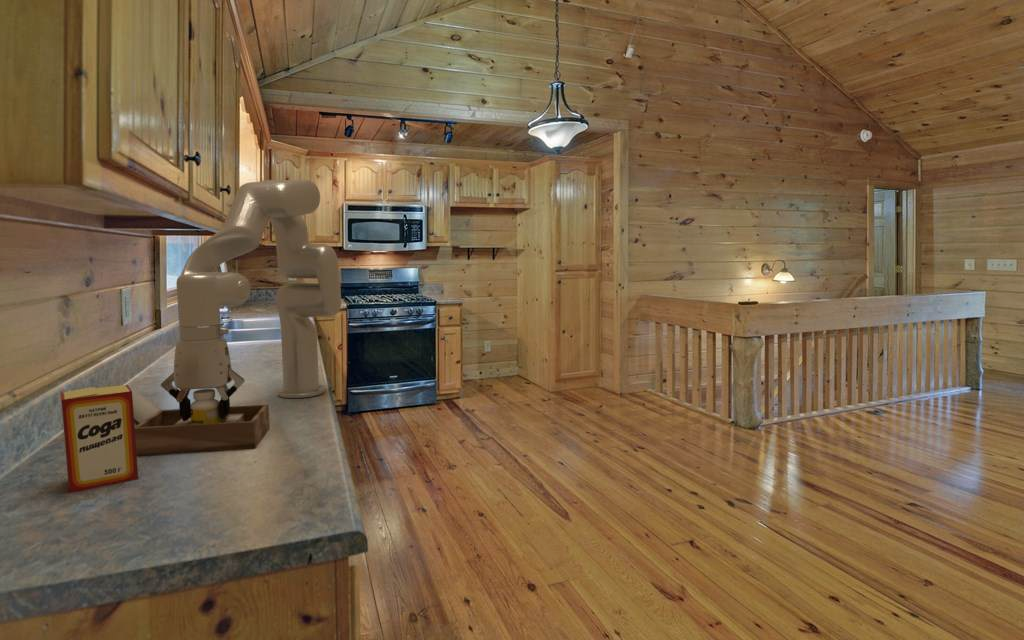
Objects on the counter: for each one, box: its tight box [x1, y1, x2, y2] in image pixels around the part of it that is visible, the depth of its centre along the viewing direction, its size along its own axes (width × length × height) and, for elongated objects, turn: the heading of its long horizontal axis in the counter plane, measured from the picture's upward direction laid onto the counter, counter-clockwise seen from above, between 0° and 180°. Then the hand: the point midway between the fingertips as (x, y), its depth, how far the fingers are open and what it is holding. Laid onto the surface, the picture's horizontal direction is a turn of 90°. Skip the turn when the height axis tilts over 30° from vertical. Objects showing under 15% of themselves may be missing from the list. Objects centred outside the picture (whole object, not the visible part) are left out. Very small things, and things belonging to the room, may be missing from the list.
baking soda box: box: [60, 384, 139, 494], centre depth 97 cm, size 10×6×16 cm
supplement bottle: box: [190, 388, 221, 424], centre depth 118 cm, size 5×5×10 cm
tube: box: [132, 391, 163, 424], centre depth 134 cm, size 5×5×25 cm
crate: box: [134, 404, 270, 457], centre depth 118 cm, size 14×22×6 cm, turn 102°
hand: (205, 417), depth 118 cm, fingers open, 6 cm apart
